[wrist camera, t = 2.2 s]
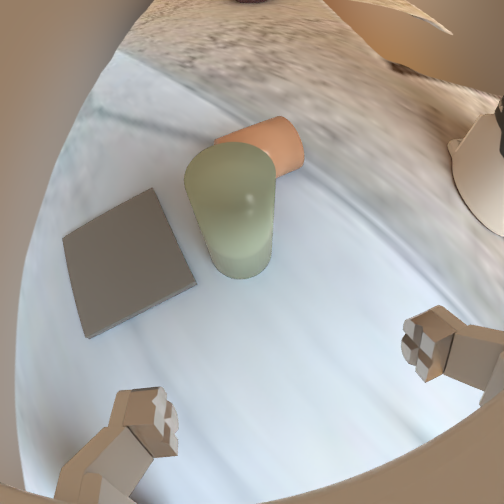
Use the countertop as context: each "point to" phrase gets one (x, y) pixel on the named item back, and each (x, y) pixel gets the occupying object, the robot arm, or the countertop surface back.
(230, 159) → the pale green rounded cylinder
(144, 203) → the plate
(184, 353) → the countertop surface
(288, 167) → the tan rounded cylinder
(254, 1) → the flask
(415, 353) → the robot arm
